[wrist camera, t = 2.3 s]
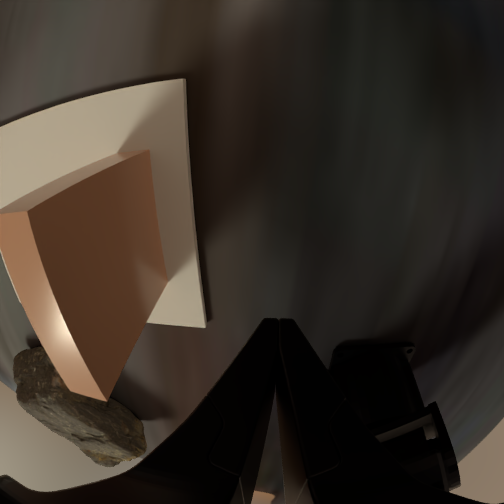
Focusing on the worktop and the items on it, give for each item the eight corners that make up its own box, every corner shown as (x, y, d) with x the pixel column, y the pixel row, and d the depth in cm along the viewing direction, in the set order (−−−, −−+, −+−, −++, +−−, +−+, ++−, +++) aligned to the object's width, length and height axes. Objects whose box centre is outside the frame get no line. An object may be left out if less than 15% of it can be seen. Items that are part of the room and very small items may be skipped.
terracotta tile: (149, 149, 14) (27, 211, 6) (168, 282, 18) (107, 401, 10) (116, 153, 14) (-10, 215, 6) (139, 280, 18) (70, 390, 10)
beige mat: (185, 79, 13) (182, 78, 12) (207, 322, 20) (205, 327, 19) (-21, 137, 14) (-25, 138, 14) (23, 299, 21) (20, 302, 21)
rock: (163, 448, 22) (125, 480, 24) (169, 400, 28) (134, 439, 30) (0, 348, 18) (-7, 402, 19) (33, 314, 24) (18, 368, 26)
